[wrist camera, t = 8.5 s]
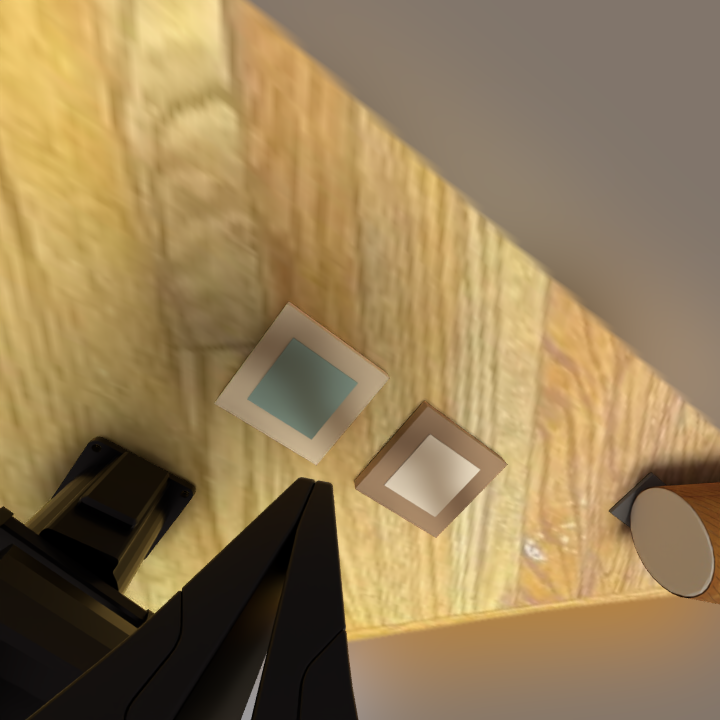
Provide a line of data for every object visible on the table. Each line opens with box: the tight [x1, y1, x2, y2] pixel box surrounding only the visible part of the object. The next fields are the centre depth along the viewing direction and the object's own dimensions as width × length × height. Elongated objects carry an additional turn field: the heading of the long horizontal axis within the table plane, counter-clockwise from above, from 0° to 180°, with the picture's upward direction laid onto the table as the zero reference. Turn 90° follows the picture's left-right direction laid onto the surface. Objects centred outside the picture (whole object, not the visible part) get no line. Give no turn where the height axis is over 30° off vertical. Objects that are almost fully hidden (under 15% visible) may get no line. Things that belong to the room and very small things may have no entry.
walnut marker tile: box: [354, 401, 508, 538], centre depth 23 cm, size 7×7×1 cm
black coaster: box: [609, 473, 667, 528], centre depth 26 cm, size 4×4×1 cm
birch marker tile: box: [214, 302, 389, 465], centre depth 21 cm, size 7×7×1 cm
